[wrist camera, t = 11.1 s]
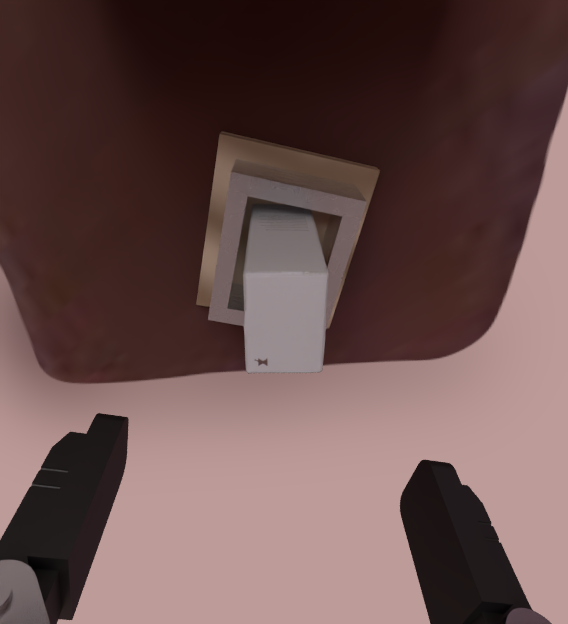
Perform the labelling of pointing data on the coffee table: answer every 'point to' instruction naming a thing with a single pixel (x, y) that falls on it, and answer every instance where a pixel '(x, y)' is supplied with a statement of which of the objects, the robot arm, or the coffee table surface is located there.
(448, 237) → the coffee table surface
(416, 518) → the robot arm
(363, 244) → the coffee table surface
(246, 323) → the skincare box
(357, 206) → the duct collar
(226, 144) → the birch board
